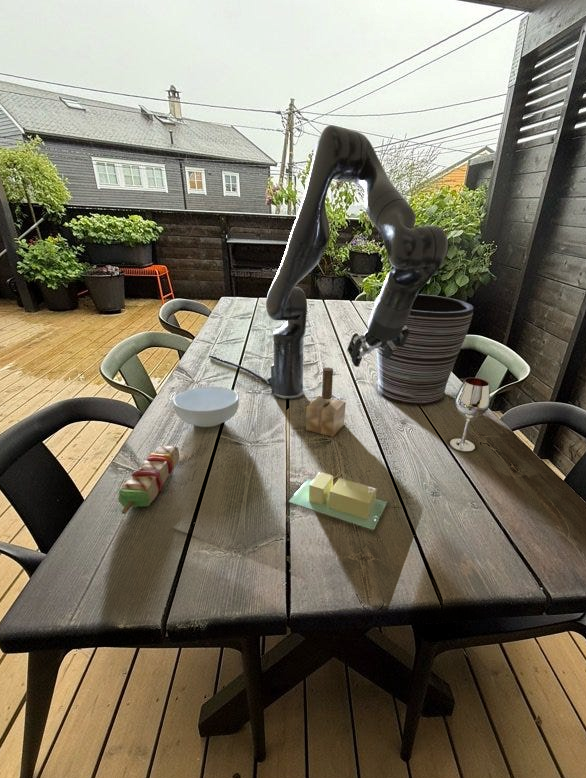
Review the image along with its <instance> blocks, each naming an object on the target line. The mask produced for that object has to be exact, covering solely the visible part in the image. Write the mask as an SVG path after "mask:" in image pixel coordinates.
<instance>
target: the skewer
mask: <svg viewBox="0 0 586 778" xmlns="http://www.w3.org/2000/svg"><path fill="white" fill-rule="evenodd" d="M179 461H180V450H179V448H178V447H177V446H173V445H163V444H162V445H159V446H157V448H156V449H155V450H154V451H153V452H152V453H149V455H148V458H146V460H144V462H143V463H142V464H141V466H140V467H139V468H138V470H134V471H133V473H131V476H130V477H129V478H128V480H127V481H125V483H124V484H123V485H122V486H121V488H120V489H119V490H118V502H119V503H120V504H121V506H122V507H124V508H123V509H122V510H121V514H122V515H126V514H127V512H128V511H130V508H134V507H135V508H136V507H139V508H140V507H141V508H142V507H143V508H145V507H149V506H150V504H151V503H153V501H154V500H155V498H156V497H157V495H158V494H159V492H161V490H162V489H164V487H165V482H166V481H167V479H168V478H169V477H170V475H172V473H173V470H175V466H176V465H177V463H178V462H179Z"/></svg>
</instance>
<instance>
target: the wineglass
mask: <svg viewBox="0 0 586 778" xmlns="http://www.w3.org/2000/svg"><path fill="white" fill-rule="evenodd" d="M490 402H491V396H490V383H489V381H487V380H485V379H483V378H479V377H467V378H465V379H463V382H462V383H461V385H460V387H459V390H458V392H457V394H456V396H455V399H454V406H455V408H456V411H458V412H459V414H460V415H461V416H462V417H463V418H464V420H465V425H464V428H463V433H462V437H461V438H453V439H450V440H449V445H450V446H451V448H453V449H455V450H457V451H459V452H466V453H469V452H472V451H474V450H475V448H476V446H475V444H474V443H473V442H471V441H470V440H468V439H466V438H467V434H468V429H469V425H470V422H471V421H473V420H475V419H478V418H480V417H481V416H483V415H485V414H486V413H487V412H488V410H489V408H490Z"/></svg>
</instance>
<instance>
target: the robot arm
mask: <svg viewBox="0 0 586 778" xmlns="http://www.w3.org/2000/svg"><path fill="white" fill-rule="evenodd" d="M333 180H335V181H341V182H344V183H354V184H356V185H357V186H358V187H360V189H362V190H363V191H364V194H363V195H364V196H363V204H364V205H363V206H364V209H365V213H366V214H367V216H368V218H369V219H370V221H371V223H372V225H374V227H375V228H376V230H377V231H378V232H379V234H380V235H381V238H382V242H383V245H384V248H385V252H386V255H387V259H388V262H389V263H390V265H391V266H392V267H393V269H392V268H391V270H389V272H388V273H387V275H386V277H385V280H384V281H383V284H382V287H381V290H380V293H379V295H378V296H377V297H378V298H377V300H376V303H375V305H374V304H373V308H372V311H371V314H370V317H369V319H368V323H367V330H366V332H365V333H364V334H362V335H359V334H358V333H354V334H352V337H351V339H350V341H349V344H348V346H347V349H346V350H347V352H348V355H349V356H350V358H351V362H352V365H353V366H355V368H357V367H360V365H361V363H362V361H363V357H364V356H365V355H366V354H367V355H368V354H371V353H372V351H374V350H376V348H378V347H384V346H385V345H386V347H385V349H384V351H383V355H384V357H385V359H389V358H390V356H391V355H392V353H393V351H394V350H396V349H397V347H398V346H399V347H402V346H404V344H405V341H406V339H407V337H408V335H409V332H410V331H409V329H408V328H407V326H406V325H405V323H406V321H407V319H408V316H409V314H410V312H411V308H412V305H413V303H414V301H415V299H416V297H417V295H418V294H420V293H419V292H420V291H421V290H422V288H423V287H425V285H426V284H427V283H428V282H429V281H430V280H431V279H432V277H433V276H434V275H435V274H436V272H437V271H438V270H439V269H440V267H441V266H442V265H443V263H444V261H445V259H446V256H447V254H448V253H447V252H448V249H449V248H448V247H449V239H448V235H447V233H446V231H445V230H444V229H443V228H442V227H441V226H439V225H436V224H435V225H434V224H431V225H421V226H420V225H419V226H415V225H416V220H417V219H416V218H417V217H416V212H415V211H414V208H413V207H412V206H411V204H410V203H409V202H408V201H407V200H406V198H405V197H404V196H403V195H402V193H401V192H400V191H399V190H398V189H397V188H396V186H395V185H394V183H393V182H392V181H391V179H390V177H389V176H388V174H387V172H386V170H385V168H384V166H383V165H382V162H381V161H380V159H379V156H378V154H377V152H376V151H375V148H374V147H373V145H372V143H371V141H370V139H368V137H367V136H366V135H364V134H363V133H361V132H359V131H356V130H352V129H348V128H345V127H343V126H339V125H333V124H331V125H330V124H329V125H327V126H326V127H324V129H323V130H322V131H321V133H320V135H319V138H318V140H317V142H316V145H315V148H314V152H313V157H312V161H311V165H310V169H309V173H308V178H307V182H306V186H305V189H304V194H303V198H302V200H301V204H300V206H299V209H298V212H297V215H296V219H295V220H294V223H293V225H292V229H291V232H290V235H289V238H288V242H287V245H286V248H285V251H284V254H283V257H282V260H281V263H280V266H279V268H278V270H277V272H276V275H275V277H274V279H273V281H272V283H271V285H270V288H269V290H268V292H267V296H266V301H265V310H266V313H267V316H268V317H269V318H270V319H271V320H272V321H276V322H285V321H286V322H285V323H284V324H283V325H282V326H281V327H280V328H278V329H276V330H275V331H273V333H272V351H273V353H272V354H273V359H272V360H273V364H271V365H270V375H271V376H269V377H268V378H267V380H266V379H265V378H263V377H262V376H261V375H259V374H258V373H256V372H254V371H253V370H250V369H248V368H247V367H244V366H242V365H239V364H236V363H234V362H231V361H228V360H225V359H223V360H224V361H223V360H222V358H220V357H217V356H215V355H212V356H210V355H211V354H209V355H208V357H209V358H211V359H214V360H216V361H219V362H221V363H224V364H227V365H230V366H232V367H235V368H238V369H241V370H242V371H245V372H247V373H249V374H251V375H252V376H254V377H256V378H257V379H259V380H261V382H264V383H266V384H267V385H270V387H271V388H270V389H271V395H273V396H275V397H276V398H279V399H283V400H295V399H299V398H301V397H302V396H303V395H304V340H305V339H304V338H305V336H306V331H307V317H308V316H307V315H308V299H307V295H306V293H305V291H304V290H303V289H302V288H301V287H300V286H297V284H298V283H300V281H302V280H303V279H304V278H305V277H306V276H307V275H308V274H309V273H311V272H312V271H313V269H314V268H316V266H317V265H318V264H319V263H320V261H321V260H322V258H323V257H324V253H325V251H326V249H327V246H328V243H329V241H330V236H331V229H330V228H331V227H330V223H329V218H328V212H327V208H326V199H327V194H328V191H329V188H330V185H331V182H332V181H333ZM394 339H395V340H394ZM367 345H368V346H369V347H368V346H367ZM361 349H362V350H361ZM213 356H214V357H213ZM220 359H221V360H220Z"/></svg>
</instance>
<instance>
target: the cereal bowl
mask: <svg viewBox="0 0 586 778" xmlns="http://www.w3.org/2000/svg"><path fill="white" fill-rule="evenodd" d="M172 403H173V404H172V405H173V410H174V412H175V414H176V416H177V417H178V418H179V419H180V420H181V421H183V422H184V423H187V424H189V425H193V426H197V427H200V428H212V427H217V426H219V425H221V424H224V423H225V422H227V421H229V420H231V419H232V418H233V417H235V415H236V413H237V412H238V409H239V405H240V398H239V394H238V393H237V392H236V391H235V390H234V389H230V388H227V387H222V386H199V387H194V388H189V389H187V390H184V391H181V392H180V393H177V394H176V395H175V396H174V397H173V399H172Z"/></svg>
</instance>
